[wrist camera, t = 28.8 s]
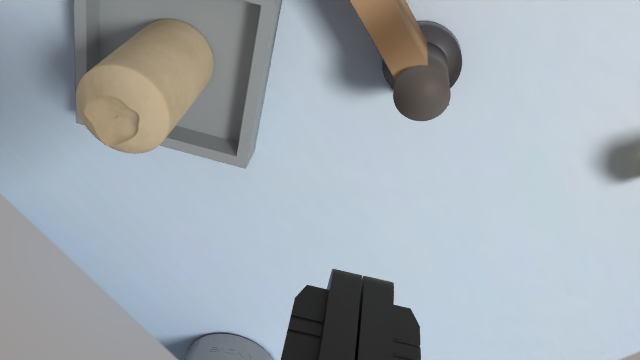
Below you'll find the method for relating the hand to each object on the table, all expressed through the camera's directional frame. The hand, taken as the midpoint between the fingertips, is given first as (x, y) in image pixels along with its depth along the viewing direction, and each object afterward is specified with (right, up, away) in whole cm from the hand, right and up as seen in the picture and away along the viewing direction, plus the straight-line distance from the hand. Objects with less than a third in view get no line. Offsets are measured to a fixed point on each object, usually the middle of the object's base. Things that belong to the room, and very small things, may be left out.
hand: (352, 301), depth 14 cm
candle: (-11, +11, +26) cm, 30 cm away
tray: (-10, +12, +26) cm, 31 cm away
